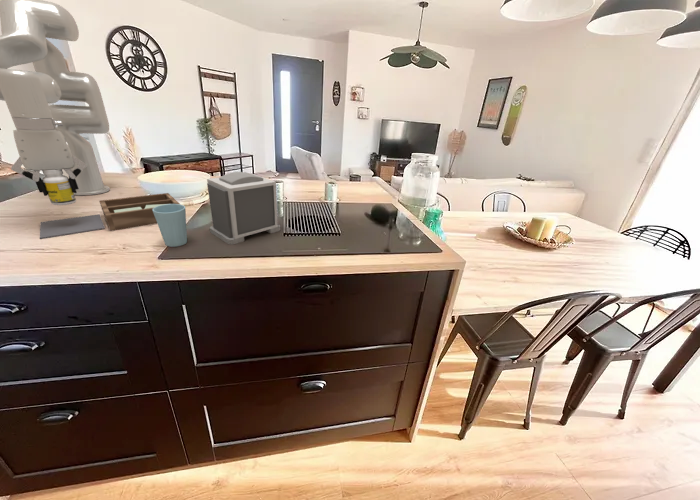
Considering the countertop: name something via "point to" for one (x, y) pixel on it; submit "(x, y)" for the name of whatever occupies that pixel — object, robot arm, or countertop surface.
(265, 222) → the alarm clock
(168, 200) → the rack
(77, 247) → the countertop surface
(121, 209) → the offcut
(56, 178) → the supplement bottle
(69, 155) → the robot arm
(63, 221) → the mat
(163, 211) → the cup
